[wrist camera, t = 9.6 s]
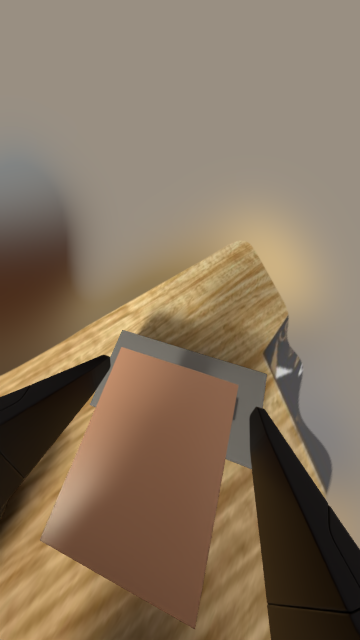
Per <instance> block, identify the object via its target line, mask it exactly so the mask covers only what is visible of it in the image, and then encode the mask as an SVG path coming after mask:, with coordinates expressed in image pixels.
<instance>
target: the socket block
mask: <svg viewBox="0 0 360 640" xmlns="http://www.w3.org/2000/svg"><path fill="white" fill-rule="evenodd" d="M121 347H123V348H126V349H130V350H133V351H136V352H139V353H142V354H145V355H149V356H152V357H155V358H158V359H161V360H164V361H167V362H170V363H174V364H177V365H180V366H183V367H186V368H189V369H192V370H195V371H198V372H201V373H204V374H207V375H210V376H213V377H216V378H219V379H222V380H225V381H228V382H231V383H234V384H237V385H238V391H237V397H236V402H235V408H234V413H233V419H232V425H231V430H230V436H229V441H228V447H227V453H226V458H225V459H227V460H230V461H232V462H235V463H237V464H240V465H242V466H245V467H247V468H250V469H252V465H251V456H250V429H249V417H250V414H251V413H252V411H253V410H254V409H255V407H260V408H263V401H264V393H265V385H266V378H267V374H265V373H262V372H258V371H255V370H252V369H249V368H245V367H242V366H239V365H236V364H232V363H229V362H226V361H222V360H219V359H216V358H213V357H209V356H206V355H203V354H200V353H196V352H193V351H190V350H187V349H183V348H180V347H177V346H174V345H170V344H167V343H164V342H160V341H157V340H154V339H151V338H147V337H144V336H141V335H138V334H134V333H131V332H128V331H125V330H122V332H121V334H120V337H119V339H118V341H117V343H116V346H115V348H114V350H113V353H112V355H111V357H110V362H111V367H110V369H109V371H108V373H107V374H106V376H105V377H104V379H103V380H102V382H101V383H100V385H99V386H98V388H97V389H96V392H95V394H94V396H93V399H92V401H91V403H90V405H92V406H94V407H96V406H97V403H98V401H99V399H100V396H101V394H102V392H103V389H104V387H105V384H106V382H107V380H108V377H109V375H110V373H111V370H112V368H113V366H114V363H115V361H116V358H117V356H118V354H119V351H120V349H121Z"/></svg>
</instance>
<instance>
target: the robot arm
mask: <svg viewBox="0 0 360 640" xmlns="http://www.w3.org/2000/svg"><path fill="white" fill-rule="evenodd" d="M110 367H111V362H110V357H109V356H107V355H101V356H99V357H97V358H94V359H92V360H89V361H87V362H85V363H82V364H80V365H77V366H75V367H73V368H70V369H68V370H65V371H63V372H61V373H58V374H56V375H53V376H51V377H49V378H46V379H44V380H41V381H39V382H37V383H34V384H32V385H29V386H27V387H25V388H22V389H20V390H17V391H15V392H12V393H10V394H7V395H5V396H2V397H0V509H1V508H2V507H3V506H4V504H5V503H6V502H7V501H8V499H9V498H10V497H11V496H12V494H13V493H14V492H15V491H16V489H17V488H18V487H19V486H20V485H21V483H22V482H23V481H24V479H25V478H26V477H27V476H28V474H29V473H30V472H31V471H32V469H33V468H34V467H35V466H36V464H37V463H38V462H39V461H40V459H41V458H42V457H43V456H44V454H45V453H46V452H47V451H48V449H49V448H50V447H51V446H52V444H53V443H54V442H55V441H56V439H57V438H58V437H59V436H60V434H61V433H62V432H63V431H64V429H65V428H66V427H67V426H68V425H69V423H70V422H71V421H72V420H73V418H74V417H75V416H76V415H77V413H78V412H79V411H80V410H81V408H82V407H83V406H84V405H85V403H86V402H87V401H88V400H89V398H90V397H91V396H92V395H93V393H94V392H95V391H96V389H97V388H98V386H99V385H100V383H101V382H102V380H103V379H104V377H105V376H106V374H107V373H108V371H109V369H110ZM249 429H250V456H251V465H252V474H253V483H254V492H255V500H256V509H257V518H258V527H259V536H260V544H261V553H262V562H263V571H264V580H265V588H266V597H267V603H268V605H267V607H268V616H269V625H270V634H271V640H360V549H359V548H358V546H357V545H356V543H355V542H354V540H353V539H352V538H351V536H350V535H349V533H348V532H347V530H346V529H345V527H344V526H343V525H342V523H341V522H340V520H339V519H338V517H337V516H336V514H335V513H334V511H333V510H332V508H331V507H330V506H329V505H328V503H327V501H326V500H325V498H324V497H323V495H322V494H321V492H320V491H319V489H318V488H317V486H316V485H315V483H314V482H313V480H312V479H311V477H310V476H309V474H308V473H307V471H306V470H305V468H304V467H303V465H302V464H301V462H300V461H299V459H298V458H297V456H296V455H295V453H294V452H293V451H292V449H291V448H290V446H289V445H288V443H287V442H286V440H285V439H284V437H283V436H282V434H281V433H280V431H279V430H278V428H277V427H276V425H275V424H274V422H273V421H272V419H271V418H270V416H269V415H268V413H267V412H266V411H265V409H263V408H260V407H255V409H254V410H253V411H252V413H251V414H250V417H249Z"/></svg>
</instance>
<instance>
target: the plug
mask: <svg viewBox="0 0 360 640" xmlns="http://www.w3.org/2000/svg"><path fill="white" fill-rule="evenodd" d="M237 391H238V385H237V384H234V383H231V382H228V381H225V380H222V379H219V378H216V377H213V376H210V375H207V374H204V373H201V372H198V371H195V370H192V369H189V368H186V367H183V366H180V365H177V364H174V363H170V362H167V361H164V360H161V359H158V358H155V357H152V356H149V355H145V354H142V353H139V352H136V351H133V350H130V349H126V348H123V347H121V349H120V351H119V354H118V356H117V358H116V361H115V363H114V366H113V368H112V370H111V373H110V375H109V377H108V380H107V382H106V384H105V387H104V389H103V392H102V394H101V396H100V399H99V401H98V403H97V406H96V408H95V411H94V413H93V415H92V418H91V420H90V422H89V425H88V427H87V430H86V432H85V434H84V437H83V439H82V441H81V444H80V446H79V448H78V451H77V453H76V456H75V458H74V460H73V463H72V465H71V467H70V470H69V472H68V475H67V477H66V479H65V482H64V484H63V486H62V489H61V491H60V493H59V496H58V498H57V501H56V503H55V505H54V508H53V510H52V512H51V515H50V517H49V520H48V522H47V524H46V527H45V529H44V531H43V534H42V536H41V538H40V541H42V542H44V543H46V544H47V545H49V546H51V547H53V548H54V549H56V550H58V551H59V552H61V553H63V554H65V555H66V556H68V557H70V558H72V559H73V560H75V561H77V562H79V563H80V564H82V565H84V566H86V567H87V568H89V569H91V570H93V571H94V572H96V573H98V574H99V575H101V576H103V577H105V578H106V579H108V580H110V581H112V582H113V583H115V584H117V585H119V586H120V587H122V588H124V589H126V590H127V591H129V592H131V593H133V594H134V595H136V596H138V597H139V598H141V599H143V600H145V601H146V602H148V603H150V604H152V605H153V606H155V607H157V608H159V609H160V610H162V611H164V612H166V613H167V614H169V615H171V616H173V617H174V618H176V619H178V620H179V621H181V622H183V623H185V624H186V625H188V626H190V627H192V628H193V629H195V626H196V621H197V615H198V610H199V604H200V598H201V593H202V587H203V582H204V576H205V570H206V565H207V559H208V553H209V548H210V542H211V537H212V531H213V525H214V520H215V514H216V509H217V503H218V497H219V492H220V486H221V481H222V475H223V469H224V464H225V458H226V453H227V447H228V441H229V436H230V430H231V425H232V419H233V413H234V408H235V402H236V397H237Z"/></svg>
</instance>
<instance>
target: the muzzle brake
mask: <svg viewBox="0 0 360 640" xmlns="http://www.w3.org/2000/svg"><path fill="white" fill-rule="evenodd" d="M6 506H7V502H6V503H5V504H4V506H3V507H2V508H1V509H0V519H1V518H2V516H3V513H4V511H5V509H6Z"/></svg>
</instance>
